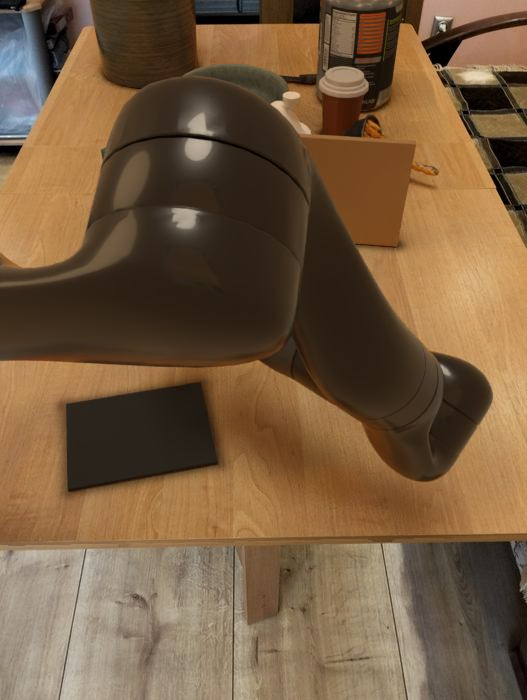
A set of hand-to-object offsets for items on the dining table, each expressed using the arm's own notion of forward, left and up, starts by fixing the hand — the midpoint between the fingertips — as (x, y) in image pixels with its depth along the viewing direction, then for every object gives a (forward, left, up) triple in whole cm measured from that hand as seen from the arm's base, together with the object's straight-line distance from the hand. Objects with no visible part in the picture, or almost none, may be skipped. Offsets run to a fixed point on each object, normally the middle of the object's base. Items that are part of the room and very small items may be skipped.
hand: (157, 253), depth 68 cm
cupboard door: (+29, +24, -17) cm, 41 cm away
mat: (-5, -10, -18) cm, 21 cm away
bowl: (+19, +58, -18) cm, 63 cm away
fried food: (+43, +40, -18) cm, 61 cm away
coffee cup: (+39, +54, -18) cm, 69 cm away
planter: (+7, +94, -18) cm, 96 cm away
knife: (+33, +83, -18) cm, 91 cm away
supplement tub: (+47, +70, -18) cm, 86 cm away
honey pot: (+22, +35, -18) cm, 45 cm away
